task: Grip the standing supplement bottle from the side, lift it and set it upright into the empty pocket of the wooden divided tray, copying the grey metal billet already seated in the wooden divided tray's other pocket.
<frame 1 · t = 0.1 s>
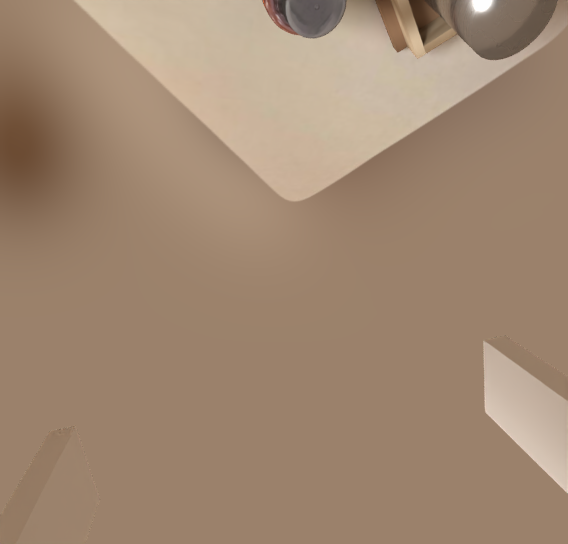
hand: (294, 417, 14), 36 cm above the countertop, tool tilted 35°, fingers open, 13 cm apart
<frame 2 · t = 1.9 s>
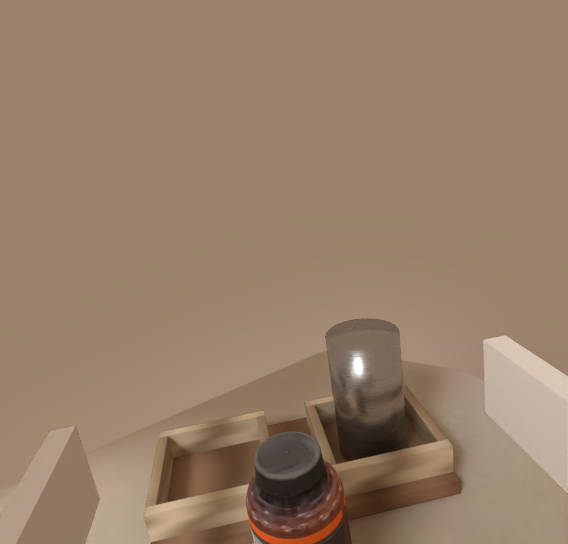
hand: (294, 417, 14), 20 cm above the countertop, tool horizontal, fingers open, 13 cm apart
wooden divided tray: (298, 473, 40), on the countertop
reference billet: (373, 445, 40), point 1 cm above the countertop, touching wooden divided tray
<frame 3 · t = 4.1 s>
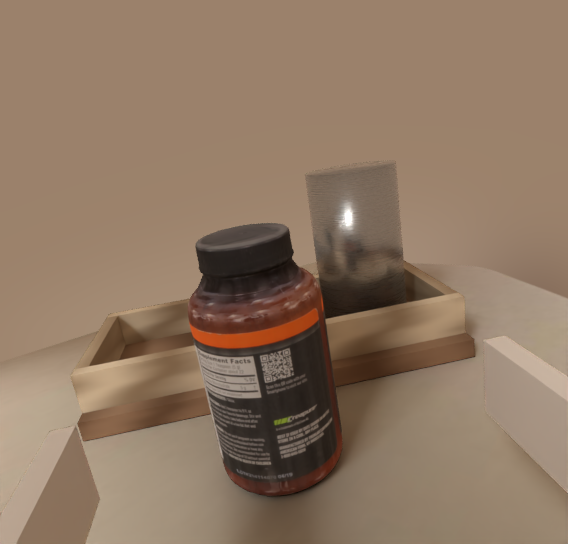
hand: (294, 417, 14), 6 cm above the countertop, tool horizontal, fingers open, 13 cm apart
supplement bottle: (284, 459, 22), on the countertop
wooden divided tray: (274, 353, 33), on the countertop
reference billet: (365, 319, 33), point 1 cm above the countertop, touching wooden divided tray
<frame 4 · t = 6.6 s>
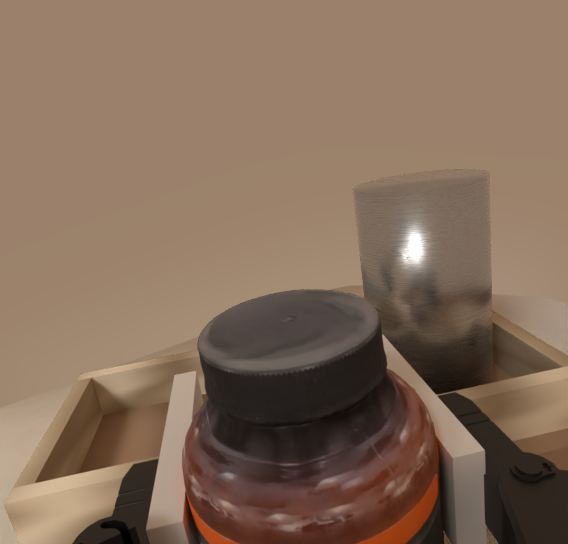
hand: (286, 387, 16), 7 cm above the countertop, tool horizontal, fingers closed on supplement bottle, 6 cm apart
wooden divided tray: (306, 435, 24), on the countertop
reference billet: (431, 387, 24), point 1 cm above the countertop, touching wooden divided tray
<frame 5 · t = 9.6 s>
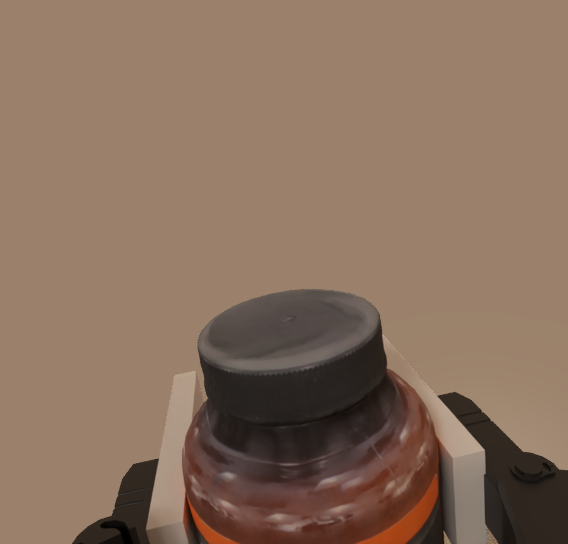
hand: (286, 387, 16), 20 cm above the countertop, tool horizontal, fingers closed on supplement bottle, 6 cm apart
when the fingers open (9 cm above the countertop, at t = 12.6 s): supplement bottle drops 1 cm, resting on wooden divided tray.
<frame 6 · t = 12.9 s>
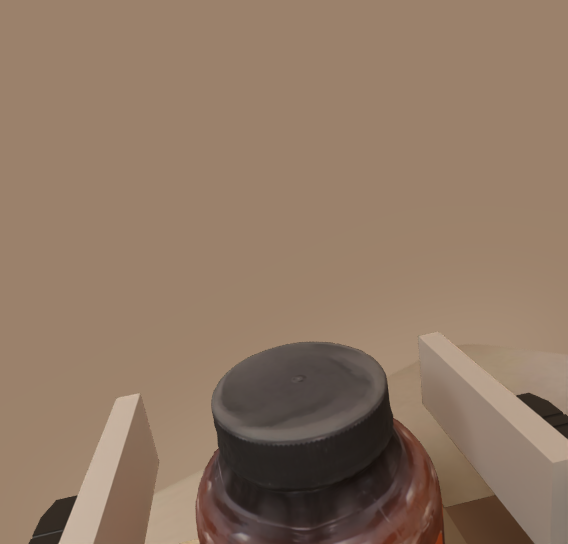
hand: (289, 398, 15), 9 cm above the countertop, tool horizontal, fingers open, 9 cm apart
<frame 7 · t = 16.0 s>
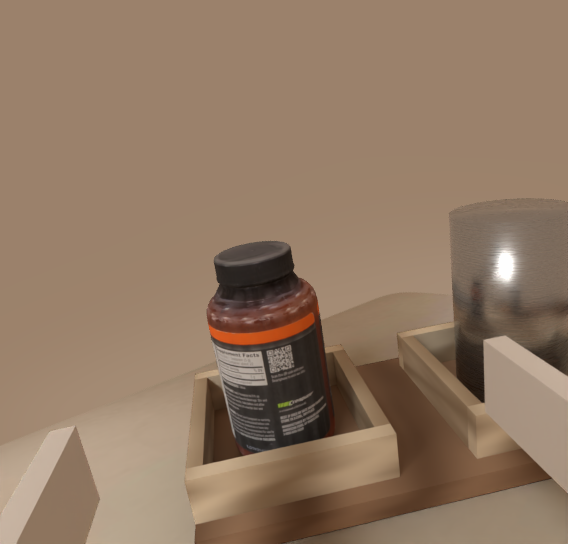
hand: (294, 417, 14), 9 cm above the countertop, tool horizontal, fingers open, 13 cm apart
supplement bottle: (286, 439, 26), point 1 cm above the countertop, touching wooden divided tray
wooden divided tray: (401, 427, 27), on the countertop
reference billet: (508, 386, 28), point 1 cm above the countertop, touching wooden divided tray
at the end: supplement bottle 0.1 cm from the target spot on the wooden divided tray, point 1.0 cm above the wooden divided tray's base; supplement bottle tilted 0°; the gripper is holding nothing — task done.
